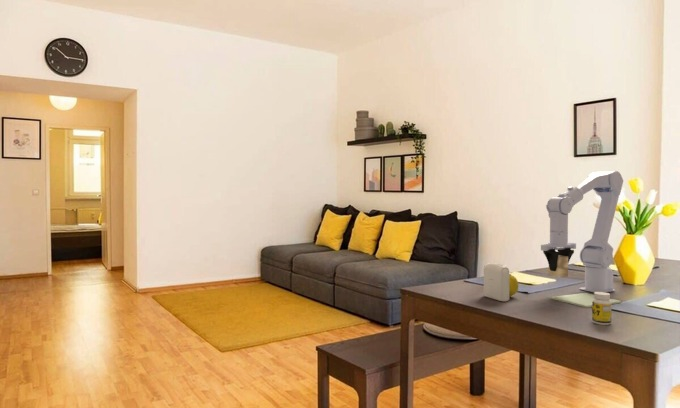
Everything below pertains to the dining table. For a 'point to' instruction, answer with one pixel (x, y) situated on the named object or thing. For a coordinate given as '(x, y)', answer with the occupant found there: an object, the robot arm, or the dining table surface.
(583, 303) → the felt mat
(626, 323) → the dining table surface
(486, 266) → the photo printer
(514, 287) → the lemon
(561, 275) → the birch block
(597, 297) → the supplement bottle
